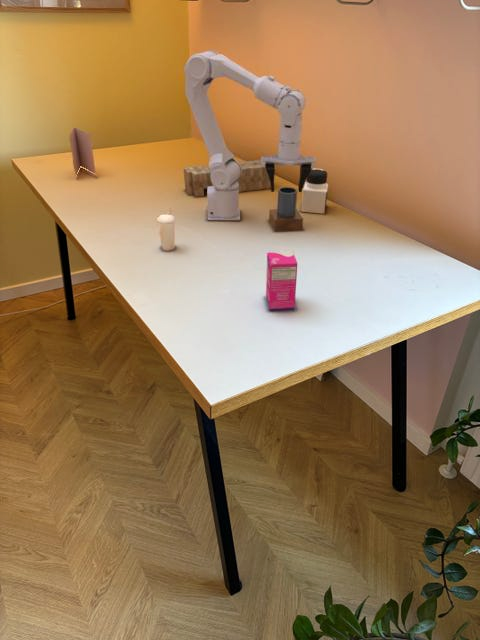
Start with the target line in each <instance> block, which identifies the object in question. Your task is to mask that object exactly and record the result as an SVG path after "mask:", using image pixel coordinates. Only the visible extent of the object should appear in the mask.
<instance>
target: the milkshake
mask: <svg viewBox="0 0 480 640" xmlns="http://www.w3.org/2000/svg"><path fill="white" fill-rule="evenodd" d="M172 209H173V208H172V207H170V208H169V214H168V213H166V214H160V215H159V216H158V217H157V219H156V221H157V226H158V231H159V237H160V245H161V249H162V250H163V251H164V252H165V251H167V252H170V251H173V250H174V249H175V247H176V245H175V244H176V243H175V242H176V241H175V240H176V217H175V216H174V215H173V214H172Z"/></svg>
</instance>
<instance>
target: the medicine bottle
mask: <svg viewBox="0 0 480 640" xmlns="http://www.w3.org/2000/svg"><path fill="white" fill-rule="evenodd" d="M327 181H328V172H327V171H326V170H324V169H322V168H311V172H310V173H309V175H308V176H307V178H306V180H305V183H304V185H303V188H302V195H301V197H302V198H301V209H300V211H301V212H302V213H310V214H311V213H312V214H322V215H323V214H325V213H326V207H327V201H328V193H329V192H328V191H329V183H327Z"/></svg>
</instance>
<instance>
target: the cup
mask: <svg viewBox="0 0 480 640" xmlns="http://www.w3.org/2000/svg"><path fill="white" fill-rule="evenodd" d="M276 200H277V201H276V202H277V203H276V209H277V215H278V216H280V217H285V218H290V217H294V216H295V215H296V209H297V203H298V202H297V201H298V189H297V188H295V187H291V186H282V187H279V188H278V189H277V199H276Z"/></svg>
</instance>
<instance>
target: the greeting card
mask: <svg viewBox="0 0 480 640" xmlns="http://www.w3.org/2000/svg"><path fill="white" fill-rule="evenodd" d="M68 137H69V144H70V149H71V156H72V165H73V170H74V174H75V181H77V180H78V178H79V176H80V174H81V172H84V173H86V174H88V175H89V176H92V177H94V178H96V179H97V172H96V166H95V158H94V151H93V144H92V137H91V133H90V132H87V131H85V130H82V129H79V128H77V127H73V128H72V130H71V132H70V134H69V136H68ZM80 166H82V167H84V168H86V169H88V170H89V171H91V172H93V173H95V174H96V175H95V174H93V173H91V172H89V171H87V170H85V169H83V168H80ZM79 168H80V170H79ZM78 170H79V172H78ZM77 172H78V174H77ZM76 175H77V177H76Z"/></svg>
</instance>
